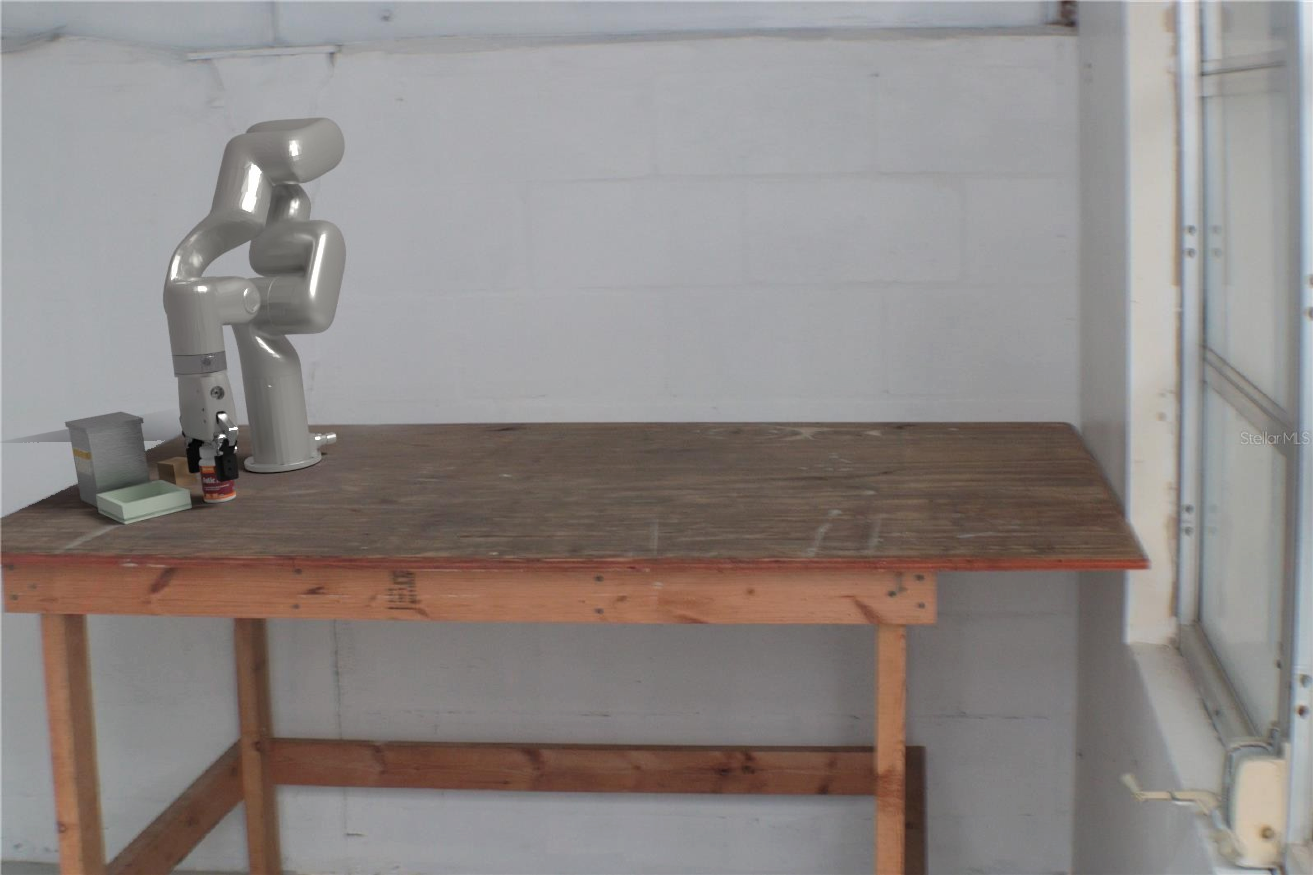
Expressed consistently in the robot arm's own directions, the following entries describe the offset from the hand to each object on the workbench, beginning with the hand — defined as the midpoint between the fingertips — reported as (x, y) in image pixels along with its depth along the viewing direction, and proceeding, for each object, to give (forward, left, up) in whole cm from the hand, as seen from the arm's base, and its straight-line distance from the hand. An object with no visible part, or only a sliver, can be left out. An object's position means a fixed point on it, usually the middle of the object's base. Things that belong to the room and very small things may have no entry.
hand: (213, 475), depth 185 cm
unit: (+9, -16, -4) cm, 18 cm away
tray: (+9, -5, -4) cm, 11 cm away
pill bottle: (-1, -1, -4) cm, 4 cm away
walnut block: (-1, -16, -4) cm, 16 cm away
